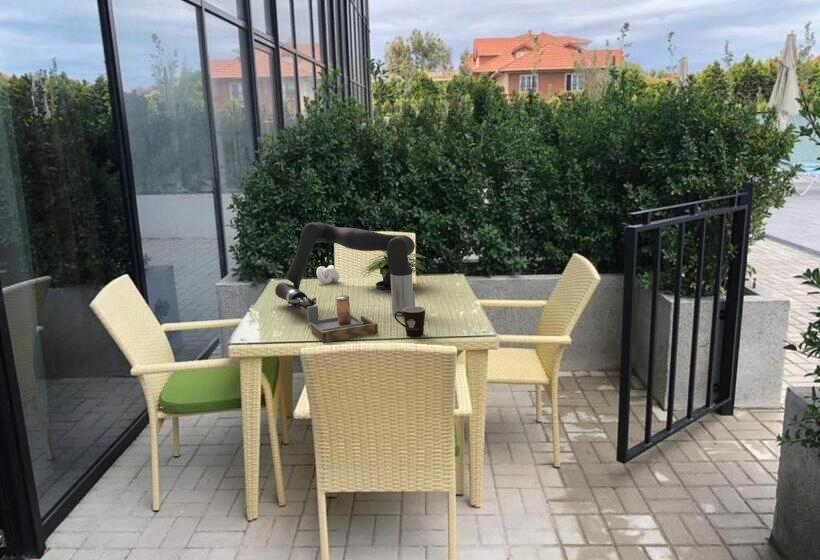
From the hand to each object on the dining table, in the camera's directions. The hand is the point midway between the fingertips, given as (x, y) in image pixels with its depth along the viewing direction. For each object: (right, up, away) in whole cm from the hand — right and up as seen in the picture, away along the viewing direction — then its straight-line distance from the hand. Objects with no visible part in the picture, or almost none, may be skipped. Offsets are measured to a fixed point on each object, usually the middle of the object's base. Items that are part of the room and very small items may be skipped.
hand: (308, 306), depth 263 cm
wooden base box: (+17, -9, -16) cm, 25 cm away
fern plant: (+35, +7, +61) cm, 70 cm away
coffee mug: (+43, -10, -20) cm, 48 cm away
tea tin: (+16, -6, -7) cm, 18 cm away
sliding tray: (+12, -7, -7) cm, 16 cm away
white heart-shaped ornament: (-2, +10, +77) cm, 78 cm away
